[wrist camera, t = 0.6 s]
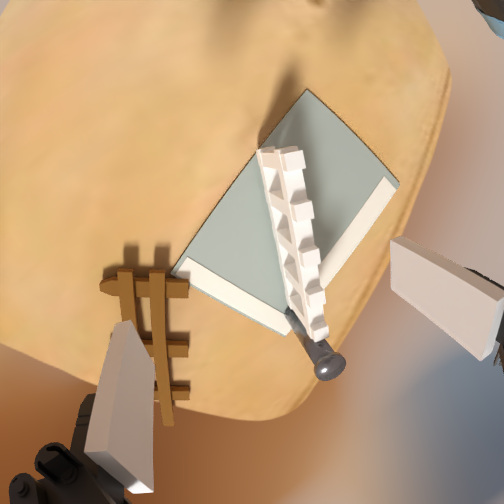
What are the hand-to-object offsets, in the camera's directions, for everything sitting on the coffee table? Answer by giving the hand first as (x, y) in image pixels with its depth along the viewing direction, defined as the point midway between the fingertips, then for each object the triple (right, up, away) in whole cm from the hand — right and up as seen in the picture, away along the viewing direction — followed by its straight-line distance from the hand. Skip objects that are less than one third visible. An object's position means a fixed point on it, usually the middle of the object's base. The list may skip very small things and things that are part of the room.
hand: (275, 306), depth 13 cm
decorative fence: (-14, -11, +22) cm, 29 cm away
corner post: (+4, -5, +25) cm, 26 cm away
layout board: (+4, +6, +21) cm, 22 cm away
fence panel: (+2, +5, +20) cm, 20 cm away
